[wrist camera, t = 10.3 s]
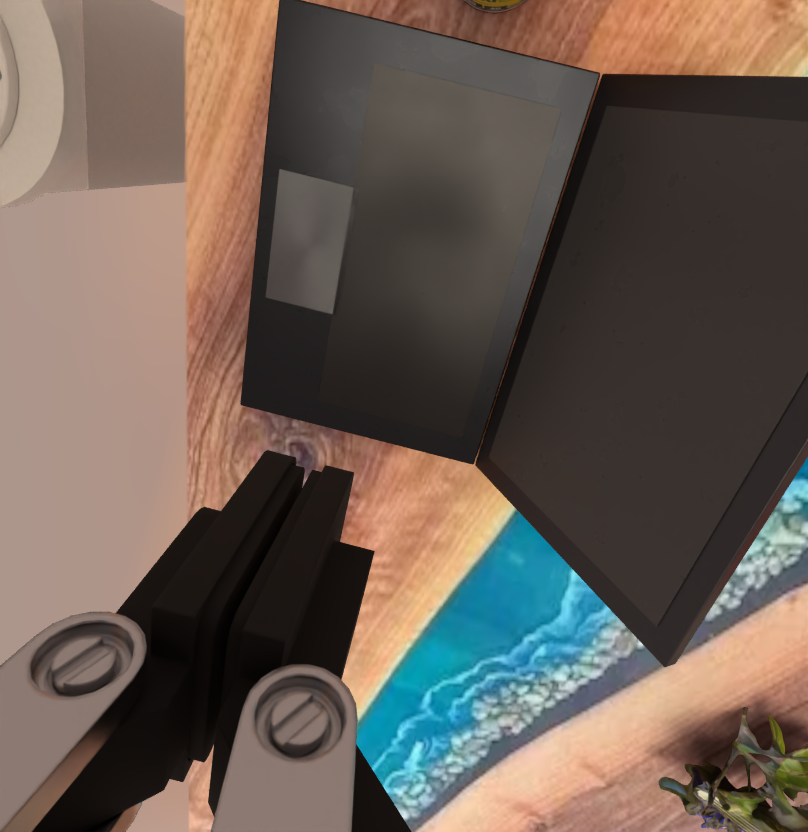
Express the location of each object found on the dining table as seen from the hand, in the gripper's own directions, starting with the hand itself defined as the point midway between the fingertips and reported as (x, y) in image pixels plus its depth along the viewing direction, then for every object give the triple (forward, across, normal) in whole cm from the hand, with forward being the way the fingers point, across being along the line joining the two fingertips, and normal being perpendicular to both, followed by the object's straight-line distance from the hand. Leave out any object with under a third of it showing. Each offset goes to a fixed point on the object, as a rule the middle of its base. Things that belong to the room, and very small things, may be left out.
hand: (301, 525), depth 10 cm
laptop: (+27, +2, 0) cm, 27 cm away
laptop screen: (+18, -11, 0) cm, 21 cm away
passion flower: (+27, -36, +33) cm, 56 cm away
